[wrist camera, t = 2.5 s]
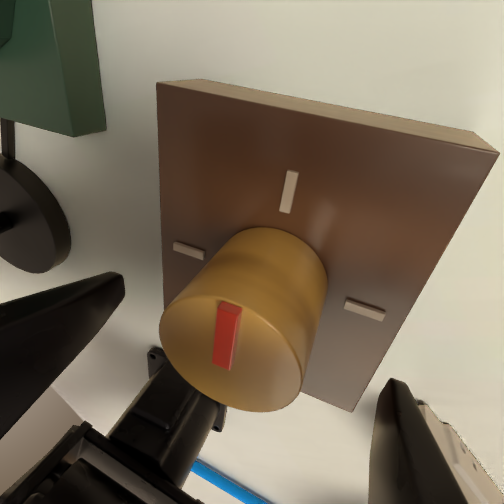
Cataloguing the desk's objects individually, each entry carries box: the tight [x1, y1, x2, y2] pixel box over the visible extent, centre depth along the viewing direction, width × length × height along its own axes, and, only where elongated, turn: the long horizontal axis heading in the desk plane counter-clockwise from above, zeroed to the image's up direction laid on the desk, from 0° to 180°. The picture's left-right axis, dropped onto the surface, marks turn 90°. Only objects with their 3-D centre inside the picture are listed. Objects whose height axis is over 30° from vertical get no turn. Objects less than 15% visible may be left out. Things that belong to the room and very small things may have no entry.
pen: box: [191, 460, 268, 504], centre depth 29 cm, size 1×19×1 cm, turn 73°
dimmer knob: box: [159, 227, 328, 412], centre depth 10 cm, size 4×4×4 cm
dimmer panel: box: [156, 79, 500, 413], centre depth 13 cm, size 12×10×3 cm
